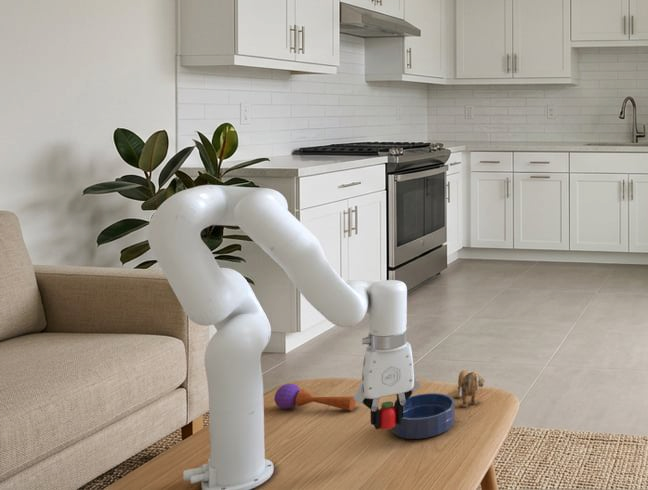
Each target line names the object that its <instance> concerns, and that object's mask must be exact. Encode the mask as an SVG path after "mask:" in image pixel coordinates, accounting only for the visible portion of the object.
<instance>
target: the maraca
mask: <svg viewBox="0 0 648 490" xmlns="http://www.w3.org/2000/svg"><path fill="white" fill-rule="evenodd" d="M274 402H275V405H276V406H277V407H278V408H280V409H281V410H290V409H293V408H295V407H297V408H298V407H299V408H300V407H302V406H305V405H307V404H311V403H318V404H322V405H326V406H330V407H334V408H337V409H338V408H339V409H343V410H346V411H351V412H352V411H353V410H354V409H355V407H356V403H357V401H355V400H354V398H353V396H314V395H312V394H311V393H310V392H308V391H307V390H306V389H305V388H300V387H299V386H298V385H297V384H295V383H285V384H283V385H281V386H280V387H279V388H278V389H277V390H276V391H275V394H274Z"/></svg>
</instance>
